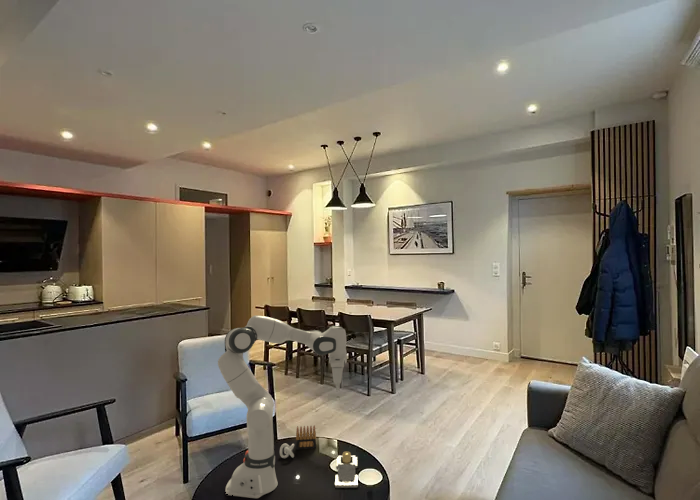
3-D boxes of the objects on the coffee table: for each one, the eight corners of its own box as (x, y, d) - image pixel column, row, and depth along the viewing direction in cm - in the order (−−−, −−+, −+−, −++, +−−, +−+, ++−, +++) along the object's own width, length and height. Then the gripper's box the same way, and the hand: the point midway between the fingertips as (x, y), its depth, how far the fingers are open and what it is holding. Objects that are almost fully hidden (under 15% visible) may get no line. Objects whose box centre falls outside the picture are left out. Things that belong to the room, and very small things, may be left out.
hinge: (335, 487, 175) (334, 474, 175) (337, 459, 199) (337, 447, 199) (357, 487, 175) (357, 473, 175) (357, 459, 199) (356, 447, 199)
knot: (286, 451, 208) (286, 439, 208) (299, 454, 205) (299, 443, 205) (277, 457, 202) (277, 446, 202) (290, 461, 198) (290, 449, 198)
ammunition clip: (316, 446, 213) (315, 424, 213) (316, 448, 211) (316, 425, 211) (296, 448, 211) (295, 425, 212) (295, 449, 210) (295, 427, 210)
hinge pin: (342, 475, 185) (342, 455, 185) (342, 470, 189) (342, 451, 189) (351, 475, 185) (350, 455, 185) (351, 470, 189) (350, 451, 189)
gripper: (332, 353, 208) (332, 380, 208) (330, 364, 187) (330, 393, 187) (344, 353, 208) (344, 379, 208) (343, 364, 187) (344, 393, 187)
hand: (338, 386), depth 197 cm, fingers open, 8 cm apart
